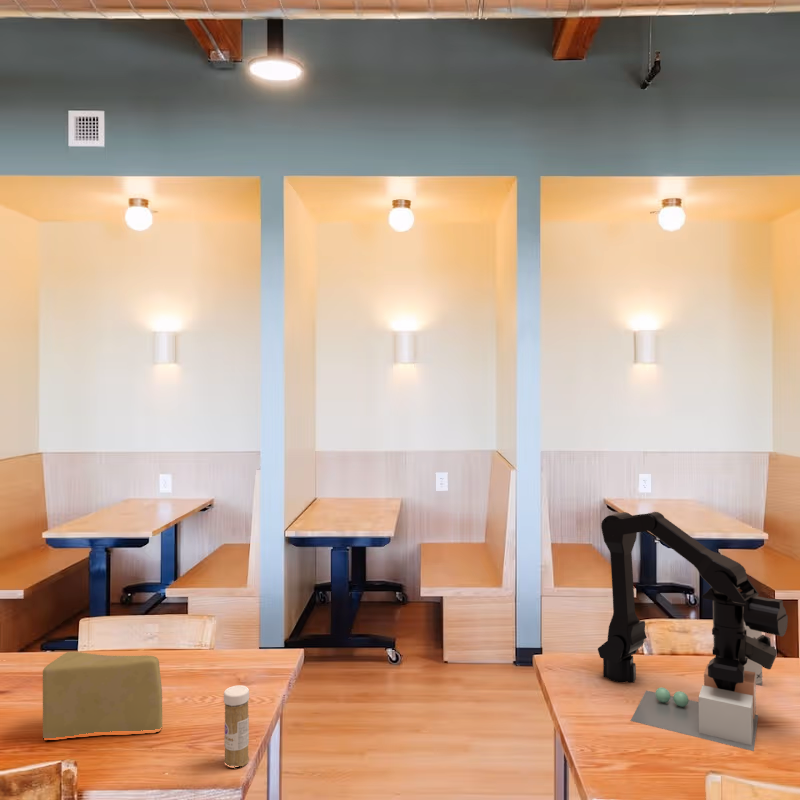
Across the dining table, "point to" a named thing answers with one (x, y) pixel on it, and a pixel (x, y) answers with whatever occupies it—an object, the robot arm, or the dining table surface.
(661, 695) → the marble
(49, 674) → the cheese
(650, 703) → the slate board
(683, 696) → the marble
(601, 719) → the dining table surface
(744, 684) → the tan block
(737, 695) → the light grey rectangular block
